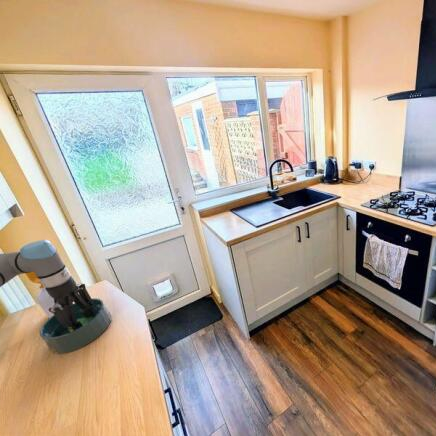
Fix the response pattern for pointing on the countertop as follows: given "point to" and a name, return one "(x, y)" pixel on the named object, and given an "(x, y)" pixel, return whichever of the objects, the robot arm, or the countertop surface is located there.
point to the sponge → (83, 322)
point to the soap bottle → (42, 295)
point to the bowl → (70, 341)
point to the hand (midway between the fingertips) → (88, 328)
